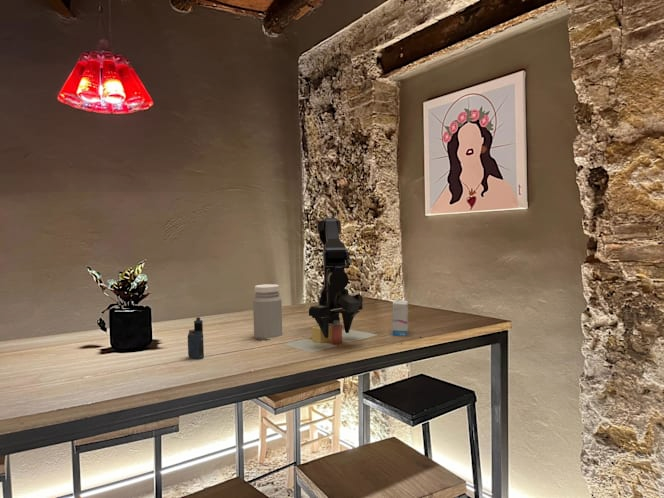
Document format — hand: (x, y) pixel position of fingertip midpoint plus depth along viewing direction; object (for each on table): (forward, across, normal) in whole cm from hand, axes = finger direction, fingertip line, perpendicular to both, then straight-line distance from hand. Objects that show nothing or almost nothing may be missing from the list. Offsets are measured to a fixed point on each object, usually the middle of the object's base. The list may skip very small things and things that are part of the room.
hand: (336, 335), depth 151 cm
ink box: (+4, +24, -7) cm, 25 cm away
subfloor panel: (+3, +2, +5) cm, 6 cm away
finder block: (+2, 0, +6) cm, 6 cm away
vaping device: (+4, -37, +22) cm, 43 cm away
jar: (+4, -7, +26) cm, 28 cm away
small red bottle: (+2, 0, 0) cm, 2 cm away
